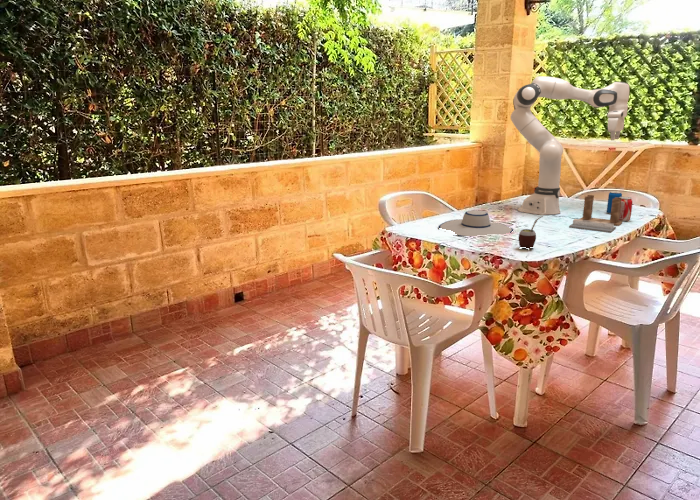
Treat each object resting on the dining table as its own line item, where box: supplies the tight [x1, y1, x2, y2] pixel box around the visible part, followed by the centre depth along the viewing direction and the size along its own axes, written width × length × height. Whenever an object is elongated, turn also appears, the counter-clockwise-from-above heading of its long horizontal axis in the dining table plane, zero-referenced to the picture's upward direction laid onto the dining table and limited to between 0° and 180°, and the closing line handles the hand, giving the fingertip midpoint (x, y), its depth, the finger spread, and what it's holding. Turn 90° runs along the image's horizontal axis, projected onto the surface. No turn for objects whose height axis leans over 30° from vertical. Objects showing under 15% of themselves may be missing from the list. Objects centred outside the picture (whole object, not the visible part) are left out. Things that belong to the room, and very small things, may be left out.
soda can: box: [619, 196, 633, 223], centre depth 265 cm, size 7×7×12 cm
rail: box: [572, 218, 615, 229], centre depth 253 cm, size 18×3×2 cm, turn 52°
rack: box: [579, 194, 624, 227], centre depth 263 cm, size 19×8×13 cm, turn 52°
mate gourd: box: [518, 215, 544, 248], centre depth 219 cm, size 8×8×15 cm
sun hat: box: [438, 209, 514, 237], centre depth 256 cm, size 36×36×9 cm
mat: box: [568, 223, 617, 234], centre depth 253 cm, size 19×10×1 cm, turn 52°
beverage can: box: [606, 190, 623, 215], centre depth 281 cm, size 6×6×12 cm
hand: (614, 139), depth 280 cm, fingers open, 8 cm apart
